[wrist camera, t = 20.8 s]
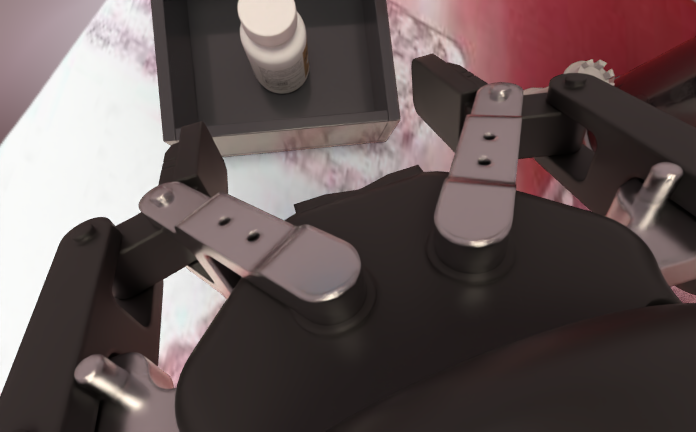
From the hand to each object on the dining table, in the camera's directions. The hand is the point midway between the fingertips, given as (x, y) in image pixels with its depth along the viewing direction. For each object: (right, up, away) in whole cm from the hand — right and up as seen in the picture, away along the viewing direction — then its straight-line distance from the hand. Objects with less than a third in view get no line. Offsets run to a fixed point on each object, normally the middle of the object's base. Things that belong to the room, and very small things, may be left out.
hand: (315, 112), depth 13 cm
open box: (-4, +8, +16) cm, 18 cm away
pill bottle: (-4, +8, +15) cm, 18 cm away
